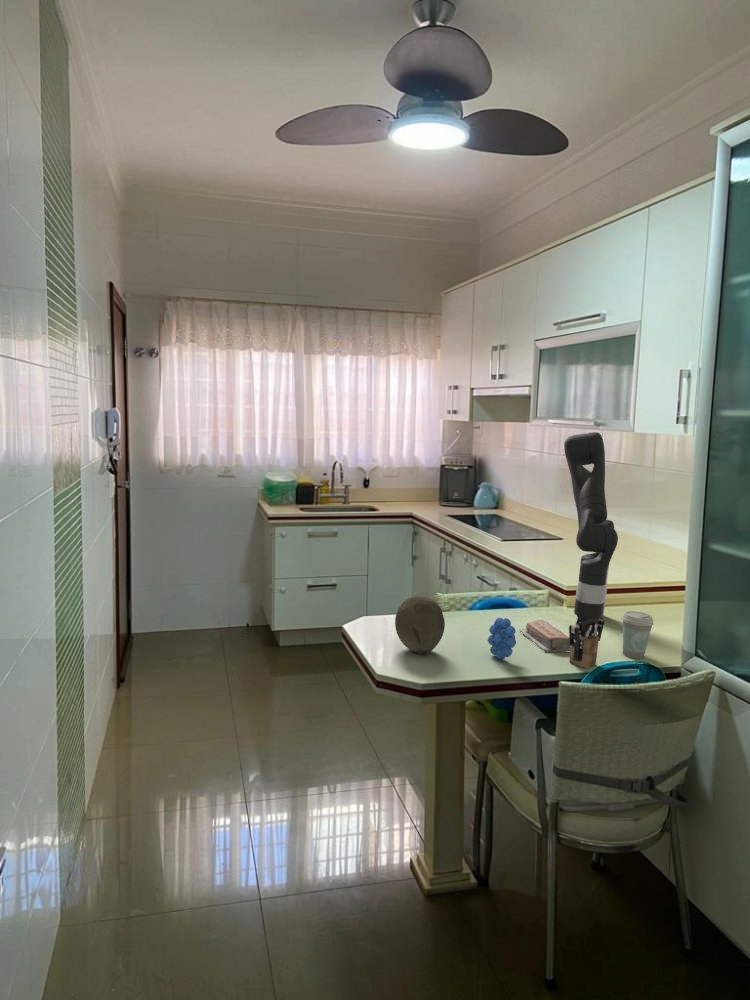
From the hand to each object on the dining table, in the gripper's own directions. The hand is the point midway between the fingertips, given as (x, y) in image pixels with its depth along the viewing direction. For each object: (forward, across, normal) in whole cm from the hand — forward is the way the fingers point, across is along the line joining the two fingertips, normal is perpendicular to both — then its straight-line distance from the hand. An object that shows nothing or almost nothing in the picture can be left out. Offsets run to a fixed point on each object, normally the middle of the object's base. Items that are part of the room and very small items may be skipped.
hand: (583, 658), depth 199 cm
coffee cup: (+2, -20, +4) cm, 20 cm away
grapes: (+2, +17, -14) cm, 22 cm away
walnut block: (+1, 0, 0) cm, 1 cm away
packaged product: (+2, -7, -17) cm, 18 cm away
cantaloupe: (+2, +33, -31) cm, 45 cm away
